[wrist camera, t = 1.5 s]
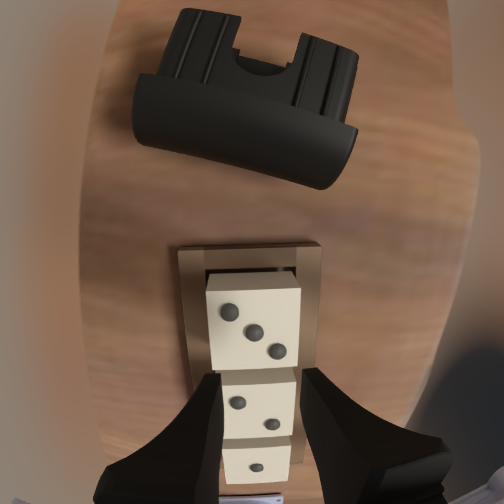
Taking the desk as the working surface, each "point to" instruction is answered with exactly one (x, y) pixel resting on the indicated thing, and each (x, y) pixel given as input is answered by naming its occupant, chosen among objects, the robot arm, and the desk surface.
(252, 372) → the tile two
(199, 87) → the end cap
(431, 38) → the desk surface
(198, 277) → the tile tray
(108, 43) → the desk surface
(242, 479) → the tile one
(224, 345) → the tile three
